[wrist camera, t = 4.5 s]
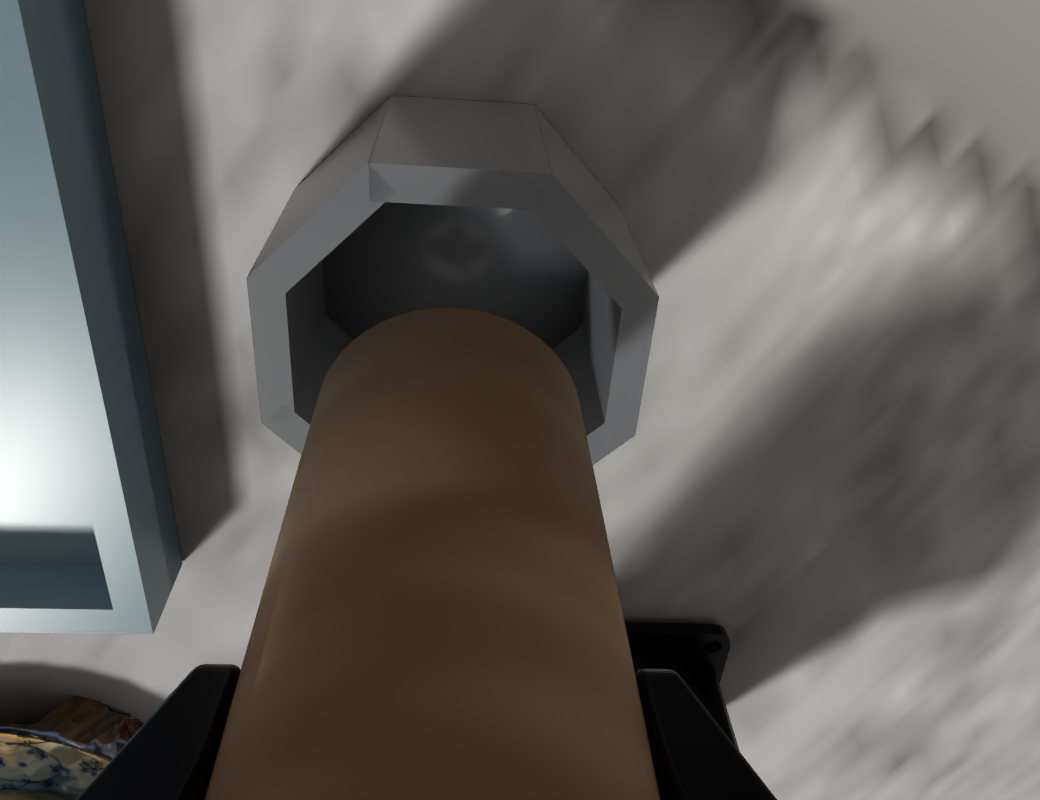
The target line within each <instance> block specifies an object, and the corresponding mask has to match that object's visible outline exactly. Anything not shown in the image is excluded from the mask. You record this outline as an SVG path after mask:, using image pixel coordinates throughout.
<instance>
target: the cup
mask: <svg viewBox="0 0 1040 800" xmlns="http://www.w3.org/2000/svg"><path fill="white" fill-rule="evenodd" d="M247 287H248V297H249V307H250V317H251V326H252V336H253V346H254V356H255V366H256V376H257V385H258V395H259V405H260V415H261V422H262V424H263V425H265V426H266V427H267V428H269V429H270V430H271V431H272V432H274V433H275V434H276V435H277V436H279V437H280V438H281V439H283V440H284V441H285V442H286V443H288V444H289V445H290V446H291V447H293V448H294V449H295V450H297V451H298V452H299V453H300V454H302V452H303V448H304V445H305V441H306V438H307V434H308V431H309V427H310V424H311V420H312V416H313V413H314V409H315V406H316V402H317V399H318V395H319V392H320V389H321V386H322V383H323V381H324V378H325V376H326V374H327V372H328V371H329V369H330V367H331V365H332V364H333V362H334V361H335V360H336V358H337V357H338V356H339V354H340V353H341V352H342V351H343V350H344V349H345V348H346V347H347V346H348V345H349V344H350V343H351V342H352V341H353V340H354V339H356V338H357V337H358V336H360V335H361V334H362V333H364V332H365V331H367V330H368V329H370V328H372V327H374V326H375V325H377V324H379V323H381V322H383V321H385V320H388V319H390V318H393V317H396V316H398V315H401V314H405V313H409V312H413V311H417V310H424V309H431V308H462V309H472V310H477V311H481V312H486V313H490V314H493V315H496V316H499V317H502V318H504V319H507V320H510V321H512V322H514V323H516V324H518V325H519V326H521V327H523V328H525V329H527V330H528V331H530V332H531V333H533V334H534V335H535V336H537V337H538V338H540V339H541V340H542V341H543V342H544V343H545V344H546V345H547V346H549V347H550V348H551V349H552V350H553V352H554V353H555V354H556V355H557V356H558V357H559V359H560V360H561V361H562V363H563V364H564V366H565V367H566V369H567V371H568V372H569V374H570V376H571V378H572V380H573V383H574V385H575V387H576V390H577V394H578V398H579V402H580V406H581V411H582V416H583V421H584V426H585V431H586V436H587V441H588V446H589V451H590V456H591V460H592V465H594V464H595V463H596V462H598V461H599V460H601V459H602V458H603V457H605V456H606V455H608V454H609V453H611V452H612V451H613V450H615V449H616V448H618V447H619V446H621V445H622V444H623V443H625V442H626V441H628V440H629V439H630V438H632V437H633V436H635V433H636V427H637V421H638V416H639V410H640V404H641V398H642V393H643V387H644V381H645V375H646V369H647V364H648V358H649V352H650V346H651V340H652V335H653V329H654V323H655V317H656V312H657V306H658V300H659V296H658V294H657V291H656V289H655V287H654V285H653V282H652V280H651V278H650V275H649V273H648V271H647V269H646V266H645V264H644V262H643V259H642V257H641V255H640V253H639V250H638V248H637V246H636V243H635V241H634V239H633V236H632V234H631V232H630V230H629V227H628V225H627V223H626V220H625V218H624V216H623V214H622V211H621V209H620V207H619V205H618V204H617V203H616V202H615V201H614V199H613V198H612V197H611V196H610V195H609V193H608V192H607V191H606V190H605V189H604V187H603V186H602V185H601V184H600V183H599V181H598V180H597V179H596V178H595V177H594V176H593V174H592V173H591V172H590V171H589V170H588V168H587V167H586V166H585V165H584V164H583V162H582V161H581V160H580V159H579V158H578V156H577V155H576V154H575V153H574V152H573V150H572V149H571V148H570V147H569V146H568V144H567V143H566V142H565V141H564V140H563V138H562V137H561V136H560V135H559V134H558V132H557V131H556V130H555V129H554V128H553V127H552V125H551V124H550V123H549V122H548V121H547V119H546V118H545V117H544V116H543V115H542V113H541V112H540V111H539V110H538V109H537V107H536V106H535V105H533V104H517V103H502V102H486V101H470V100H455V99H439V98H423V97H408V96H390V97H389V98H388V99H387V100H386V101H385V102H384V103H383V104H382V105H381V106H380V107H379V108H378V109H377V110H376V111H375V112H374V113H373V114H372V115H371V116H370V117H369V118H368V119H366V120H365V121H364V122H363V123H362V124H361V125H360V126H359V127H358V128H357V129H356V130H355V131H354V132H353V133H352V134H351V135H350V136H349V137H348V138H347V139H346V140H345V141H344V142H343V143H342V144H341V145H340V146H339V147H338V148H337V149H335V150H334V151H333V152H332V153H331V154H330V155H329V156H328V157H327V158H326V159H325V160H324V161H323V162H322V163H321V164H320V165H319V166H318V167H317V168H316V169H315V170H314V171H313V172H312V173H311V174H310V175H309V176H308V177H307V178H306V179H304V180H303V181H302V182H301V183H300V184H299V185H298V186H297V187H296V188H295V189H294V191H293V193H292V195H291V197H290V199H289V201H288V202H287V204H286V206H285V208H284V210H283V212H282V214H281V215H280V217H279V219H278V221H277V223H276V225H275V226H274V228H273V230H272V232H271V234H270V236H269V238H268V239H267V241H266V243H265V245H264V247H263V249H262V250H261V252H260V254H259V256H258V258H257V260H256V262H255V263H254V265H253V267H252V269H251V271H250V273H249V274H248V276H247Z"/></svg>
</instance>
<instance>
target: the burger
mask: <svg viewBox="0 0 1040 800" xmlns="http://www.w3.org/2000/svg"><path fill="white" fill-rule="evenodd" d="M131 715H132V714H129V715H122V714H120V713H116V712H111V711H110V710H108V707H107V706H106V705H102V704H101V703H99V702H96V701H93V700H89V699H87V698H84V697H77V696H75V697H71V698H70V699H68V700H67V701H66V702H65V703H64V704H63V705H61V706H60V707H58V708H57V709H55V710H54V711H52V712H51V713H49V714H48V715H47V716H46V717H44V718H43V719H42V720H41V721H40V722H39V723H36V724H34V725H32V724H22V725H18V724H12V723H6V724H4V723H0V800H76V799H77V798H78V796H79V795H80V794H81V793H82V792H83V791H84V790H85V789H86V788H87V786H88V785H89V784H90V783H91V782H92V781H93V780H94V779H95V778H96V777H97V775H98V774H99V773H100V772H101V771H102V770H103V769H104V768H105V767H106V765H107V764H108V763H109V762H110V761H111V760H112V759H113V758H114V757H115V755H116V754H117V753H118V752H119V751H120V750H121V749H122V748H123V747H124V745H125V744H126V743H127V742H128V741H129V740H130V739H131V738H132V737H133V735H134V734H135V733H136V732H137V731H138V730H139V729H140V728H141V727H142V725H143V724H144V723H142V722H141V721H139V719H133V720H132V719H127V717H129V718H131ZM130 720H132V721H133V722H134V723H133V722H130ZM139 724H140V725H139Z"/></svg>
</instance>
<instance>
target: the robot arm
mask: <svg viewBox="0 0 1040 800" xmlns="http://www.w3.org/2000/svg"><path fill="white" fill-rule="evenodd" d="M625 627H626V632H627V637H628V642H629V647H630V652H631V657H632V662H633V667H634V671H635V676H636V681H637V686H638V691H639V696H640V701H641V706H642V711H643V716H644V720H645V725H646V730H647V735H648V740H649V745H650V750H651V755H652V760H653V765H654V770H655V774H656V779H657V784H658V789H659V794H660V799H661V800H777V799H776V798H775V797H774V795H773V794H772V793H771V791H770V790H769V789H768V788H767V786H766V785H765V784H764V782H763V781H762V780H761V779H760V777H759V776H758V775H757V773H756V772H755V771H754V770H753V768H752V767H751V766H750V765H749V763H748V762H747V761H746V759H745V758H744V757H743V756H742V754H741V753H740V751H739V748H738V745H737V741H736V738H735V735H734V732H733V728H732V725H731V722H730V718H729V715H728V712H727V709H726V705H725V702H724V699H723V695H722V692H721V689H720V685H719V683H720V680H721V676H722V673H723V670H724V666H725V663H726V659H727V656H728V652H729V649H730V640H729V637H728V634H727V632H726V630H725V628H724V627H722V626H720V625H717V624H693V623H628V622H625ZM713 640H714V641H713ZM709 641H713V642H709ZM240 672H241V670H240V668H239V667H238V666H236V665H233V664H204V665H200V666H198V667H196V668H194V669H193V670H192V671H191V672H190V673H189V674H188V675H187V677H186V678H185V679H184V680H183V681H182V682H181V683H180V684H179V685H178V687H177V688H176V689H175V690H174V691H173V692H172V693H171V694H170V695H169V697H168V698H167V699H166V700H165V701H164V702H163V703H162V704H161V705H160V707H159V708H158V709H157V710H156V711H155V712H154V713H153V714H152V715H151V717H150V718H149V719H148V720H147V721H146V722H145V723H144V724H143V725H142V727H141V728H140V729H139V730H138V731H137V732H136V733H135V734H134V735H133V737H132V738H131V739H130V740H129V741H128V742H127V743H126V744H125V745H124V747H123V748H122V749H121V750H120V751H119V752H118V753H117V754H116V755H115V757H114V758H113V759H112V760H111V761H110V762H109V763H108V764H107V765H106V767H105V768H104V769H103V770H102V771H101V772H100V773H99V774H98V775H97V777H96V778H95V779H94V780H93V781H92V782H91V783H90V784H89V785H88V786H87V788H86V789H85V790H84V791H83V792H82V793H81V794H80V795H79V796H78V798H77V799H76V800H204V799H205V796H206V792H207V788H208V785H209V781H210V778H211V774H212V771H213V767H214V764H215V760H216V757H217V753H218V749H219V746H220V742H221V739H222V735H223V732H224V728H225V725H226V721H227V718H228V714H229V710H230V707H231V703H232V700H233V696H234V693H235V689H236V686H237V682H238V679H239V675H240Z"/></svg>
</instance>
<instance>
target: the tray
mask: <svg viewBox="0 0 1040 800" xmlns="http://www.w3.org/2000/svg"><path fill="white" fill-rule="evenodd" d="M181 565H182V557H181V552H180V546H179V541H178V535H177V529H176V524H175V518H174V512H173V507H172V501H171V495H170V490H169V484H168V479H167V473H166V467H165V462H164V456H163V450H162V445H161V439H160V434H159V428H158V422H157V417H156V411H155V405H154V400H153V394H152V388H151V383H150V377H149V372H148V366H147V360H146V355H145V349H144V343H143V338H142V332H141V326H140V321H139V315H138V310H137V304H136V298H135V293H134V287H133V281H132V276H131V270H130V264H129V259H128V253H127V248H126V242H125V236H124V231H123V225H122V219H121V214H120V208H119V202H118V197H117V191H116V186H115V180H114V174H113V169H112V163H111V157H110V152H109V146H108V141H107V135H106V129H105V124H104V118H103V112H102V107H101V101H100V95H99V90H98V84H97V79H96V73H95V67H94V62H93V56H92V50H91V45H90V39H89V33H88V28H87V22H86V17H85V11H84V5H83V0H0V632H27V633H100V634H153V633H154V631H155V629H156V626H157V624H158V621H159V619H160V616H161V614H162V612H163V609H164V607H165V604H166V602H167V599H168V597H169V595H170V592H171V590H172V587H173V585H174V582H175V580H176V578H177V575H178V573H179V570H180V568H181Z"/></svg>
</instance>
